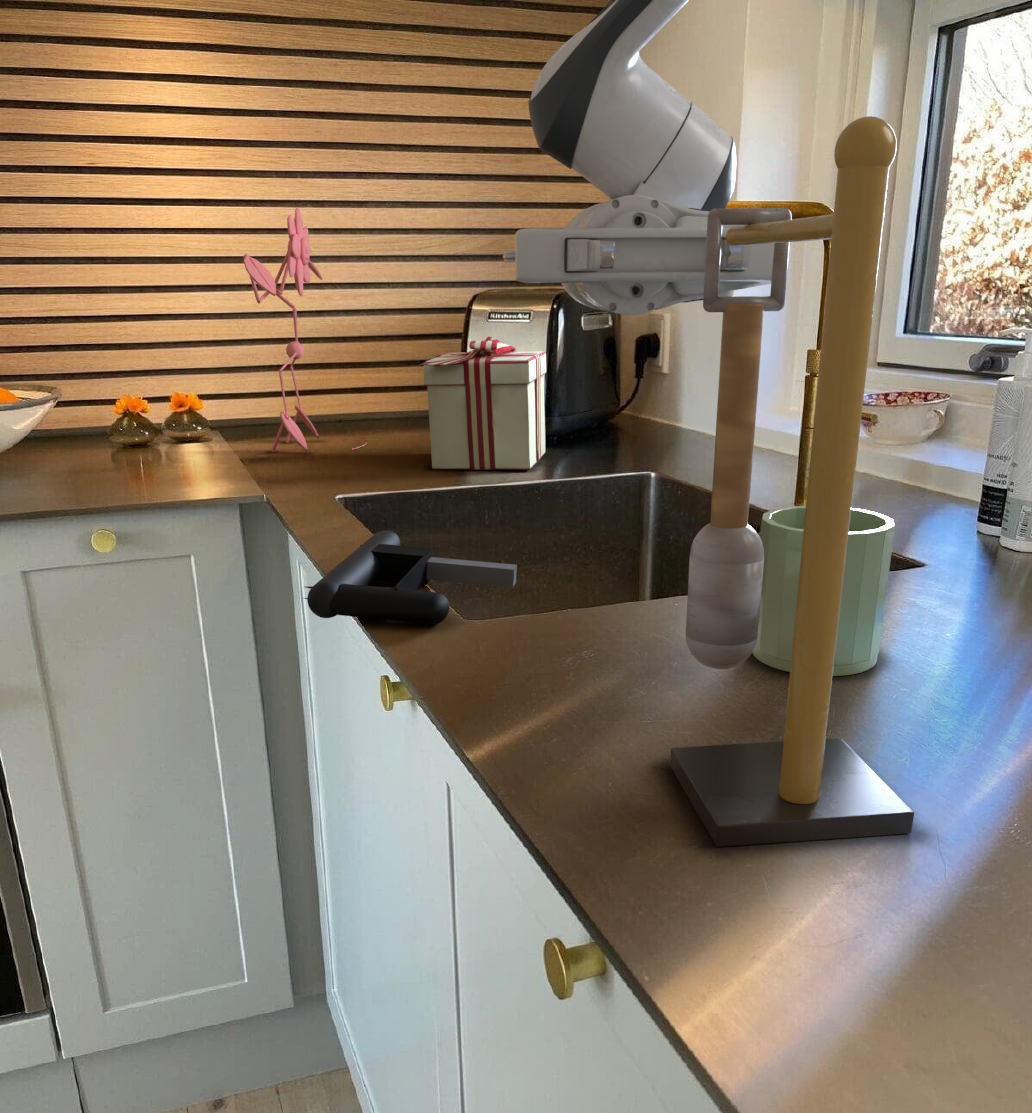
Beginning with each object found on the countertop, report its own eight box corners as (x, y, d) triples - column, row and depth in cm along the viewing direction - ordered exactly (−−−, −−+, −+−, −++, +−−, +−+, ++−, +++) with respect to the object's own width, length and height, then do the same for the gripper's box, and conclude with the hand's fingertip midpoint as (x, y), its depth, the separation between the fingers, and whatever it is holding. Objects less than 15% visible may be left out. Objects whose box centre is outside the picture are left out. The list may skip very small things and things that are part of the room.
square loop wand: (743, 653, 68) (777, 210, 58) (766, 677, 64) (807, 205, 54) (674, 656, 67) (696, 210, 57) (693, 681, 63) (720, 206, 53)
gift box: (427, 452, 161) (423, 335, 155) (547, 453, 160) (547, 334, 153) (406, 472, 145) (400, 343, 139) (538, 473, 144) (538, 342, 137)
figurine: (251, 461, 156) (225, 203, 143) (292, 435, 180) (273, 212, 167) (353, 460, 155) (336, 201, 142) (381, 434, 179) (368, 211, 166)
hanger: (778, 691, 69) (826, 157, 58) (911, 833, 52) (1021, 108, 40) (630, 699, 68) (649, 157, 56) (716, 847, 51) (769, 106, 39)
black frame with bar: (526, 540, 98) (361, 525, 100) (489, 603, 80) (288, 584, 82) (524, 574, 100) (362, 559, 102) (487, 643, 81) (289, 623, 83)
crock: (846, 632, 80) (861, 503, 77) (898, 673, 72) (917, 531, 69) (735, 637, 80) (745, 507, 76) (776, 679, 71) (788, 536, 68)
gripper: (499, 213, 82) (520, 203, 69) (752, 213, 84) (818, 203, 71) (500, 299, 84) (521, 304, 71) (746, 297, 86) (809, 302, 73)
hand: (672, 254), depth 71 cm, fingers open, 8 cm apart
